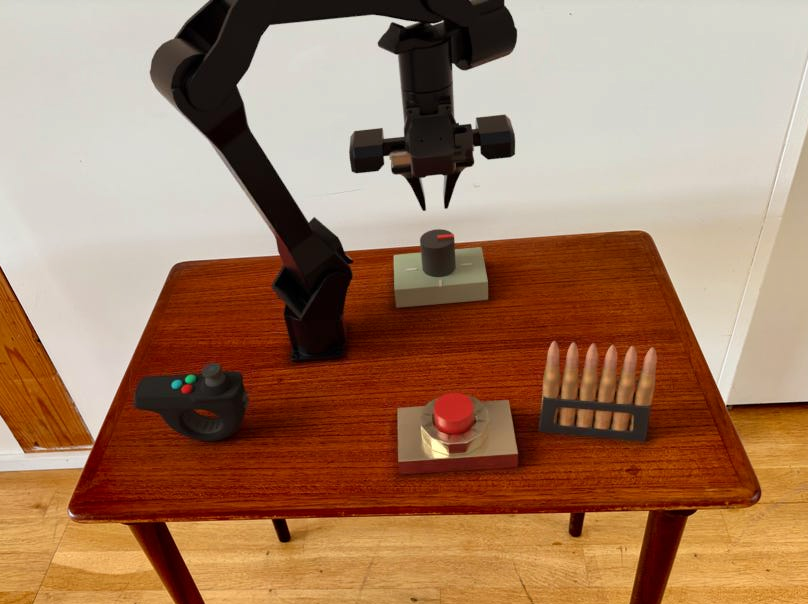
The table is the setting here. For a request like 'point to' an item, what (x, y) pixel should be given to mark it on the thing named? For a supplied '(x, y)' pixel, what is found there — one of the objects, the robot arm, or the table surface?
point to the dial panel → (440, 280)
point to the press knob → (454, 413)
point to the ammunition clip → (597, 395)
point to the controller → (196, 401)
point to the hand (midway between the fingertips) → (435, 208)
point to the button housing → (456, 440)
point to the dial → (438, 253)
